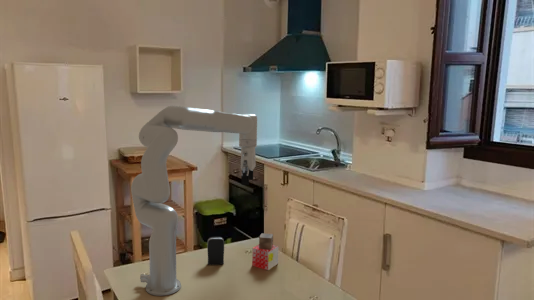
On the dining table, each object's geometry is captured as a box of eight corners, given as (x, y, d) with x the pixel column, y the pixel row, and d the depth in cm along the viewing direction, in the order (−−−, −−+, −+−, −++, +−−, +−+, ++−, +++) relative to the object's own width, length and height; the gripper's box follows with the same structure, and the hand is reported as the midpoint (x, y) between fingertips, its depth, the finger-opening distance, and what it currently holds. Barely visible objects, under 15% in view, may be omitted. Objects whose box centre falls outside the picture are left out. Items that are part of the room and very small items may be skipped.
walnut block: (259, 248, 176) (259, 237, 176) (261, 244, 181) (261, 233, 180) (270, 249, 175) (271, 238, 175) (272, 245, 180) (273, 234, 179)
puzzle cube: (268, 270, 174) (268, 252, 173) (252, 265, 178) (252, 247, 177) (278, 263, 181) (278, 246, 180) (262, 259, 185) (262, 242, 184)
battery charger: (223, 260, 182) (223, 235, 180) (224, 264, 178) (224, 238, 177) (207, 261, 181) (207, 236, 179) (207, 265, 177) (207, 239, 175)
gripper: (252, 146, 172) (252, 187, 175) (259, 140, 189) (259, 178, 192) (234, 145, 173) (234, 186, 176) (243, 140, 190) (242, 177, 193)
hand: (247, 182), depth 184 cm, fingers open, 9 cm apart
